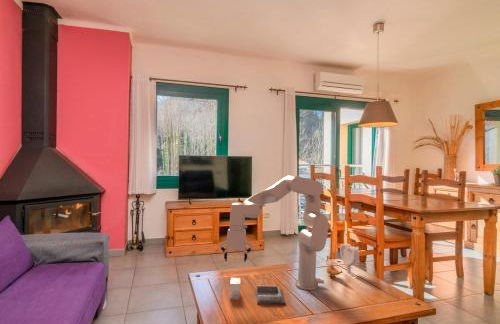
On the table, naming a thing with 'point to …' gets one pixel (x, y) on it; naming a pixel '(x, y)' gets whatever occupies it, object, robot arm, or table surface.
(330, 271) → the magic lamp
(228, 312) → the table surface
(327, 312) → the table surface
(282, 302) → the grey square tray
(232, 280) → the block
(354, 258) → the heart sculpture
